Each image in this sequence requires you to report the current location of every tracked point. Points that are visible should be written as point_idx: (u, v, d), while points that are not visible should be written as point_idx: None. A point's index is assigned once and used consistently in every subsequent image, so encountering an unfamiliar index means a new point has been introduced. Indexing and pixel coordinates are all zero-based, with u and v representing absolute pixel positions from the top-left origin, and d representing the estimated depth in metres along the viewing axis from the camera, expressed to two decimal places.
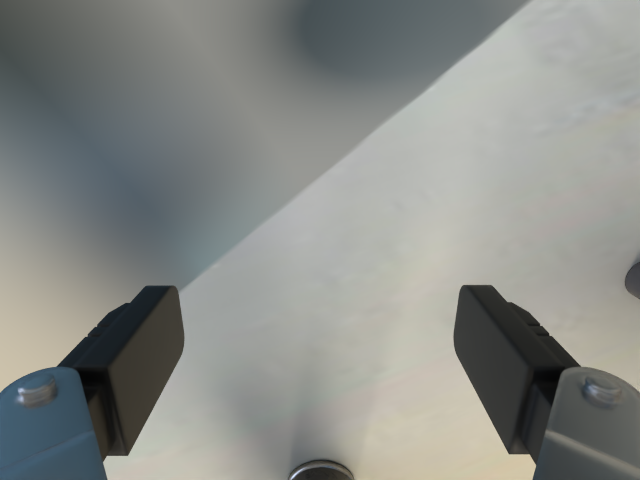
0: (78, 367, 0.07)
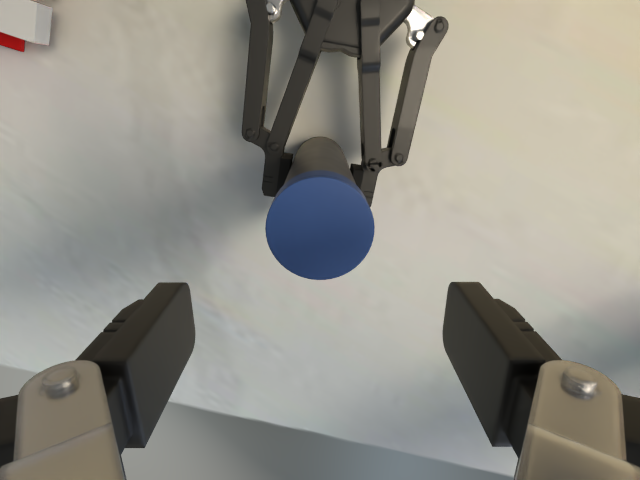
0: (97, 361, 0.07)
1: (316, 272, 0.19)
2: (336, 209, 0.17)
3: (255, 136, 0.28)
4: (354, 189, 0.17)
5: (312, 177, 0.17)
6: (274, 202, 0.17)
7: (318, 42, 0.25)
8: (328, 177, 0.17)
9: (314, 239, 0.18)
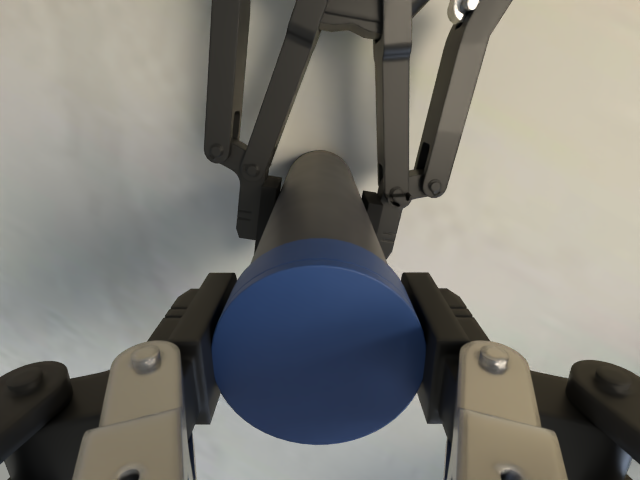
0: (173, 341, 0.08)
1: (312, 433, 0.10)
2: (351, 326, 0.09)
3: (224, 155, 0.19)
4: (389, 288, 0.08)
5: (303, 265, 0.08)
6: (226, 312, 0.09)
7: (317, 13, 0.16)
8: (336, 265, 0.08)
9: (308, 378, 0.09)
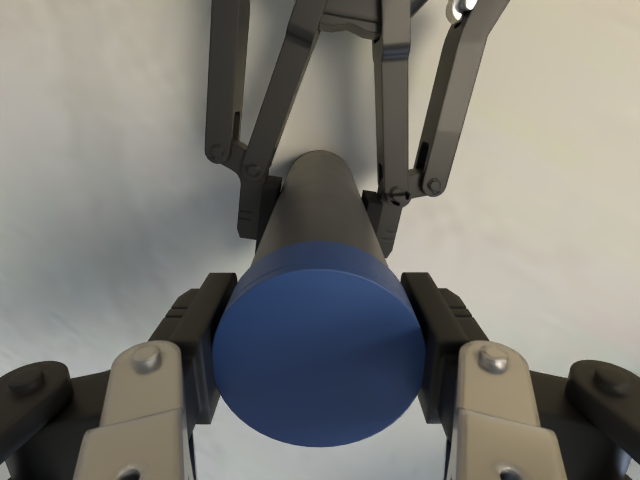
0: (173, 341, 0.08)
1: (409, 368, 0.09)
2: (272, 342, 0.09)
3: (224, 155, 0.19)
4: (226, 312, 0.09)
5: (216, 381, 0.09)
6: (270, 435, 0.10)
7: (316, 14, 0.16)
8: (212, 356, 0.09)
9: (337, 374, 0.09)
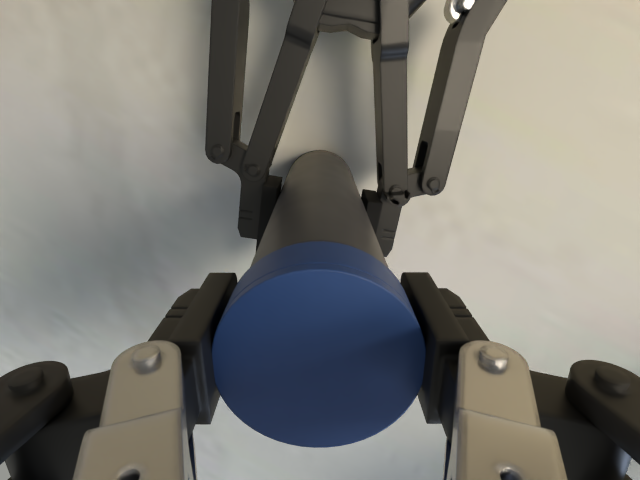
0: (173, 341, 0.08)
1: (314, 286, 0.08)
2: (294, 404, 0.09)
3: (225, 155, 0.19)
4: (267, 434, 0.10)
5: (343, 442, 0.10)
6: (409, 403, 0.09)
7: (315, 14, 0.16)
8: None
9: (327, 351, 0.09)
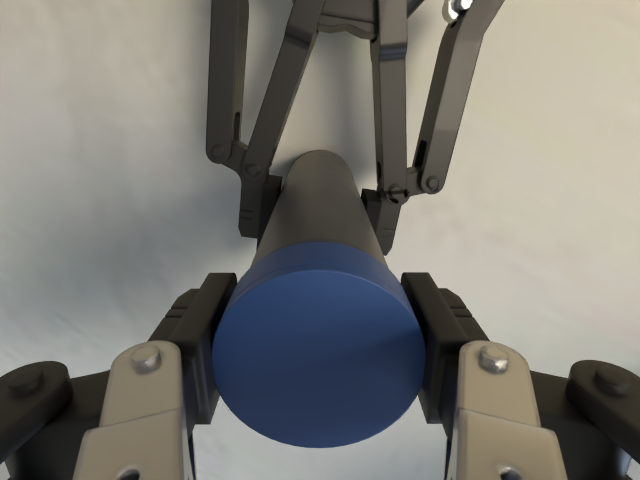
0: (173, 341, 0.08)
1: (229, 376, 0.09)
2: (366, 386, 0.09)
3: (225, 156, 0.19)
4: (408, 405, 0.09)
5: (422, 337, 0.09)
6: (363, 280, 0.08)
7: (314, 15, 0.17)
8: None
9: (299, 361, 0.09)
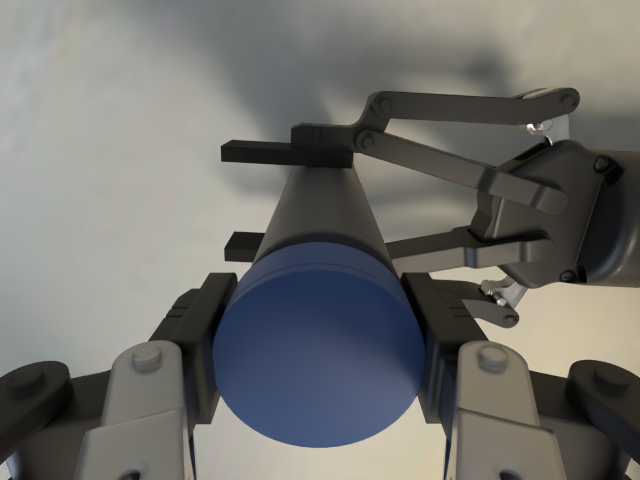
0: (174, 341, 0.08)
1: (332, 435, 0.10)
2: (339, 325, 0.09)
3: (380, 113, 0.19)
4: (366, 279, 0.08)
5: (275, 276, 0.08)
6: (216, 337, 0.09)
7: (504, 193, 0.20)
8: (307, 269, 0.08)
9: (312, 383, 0.09)
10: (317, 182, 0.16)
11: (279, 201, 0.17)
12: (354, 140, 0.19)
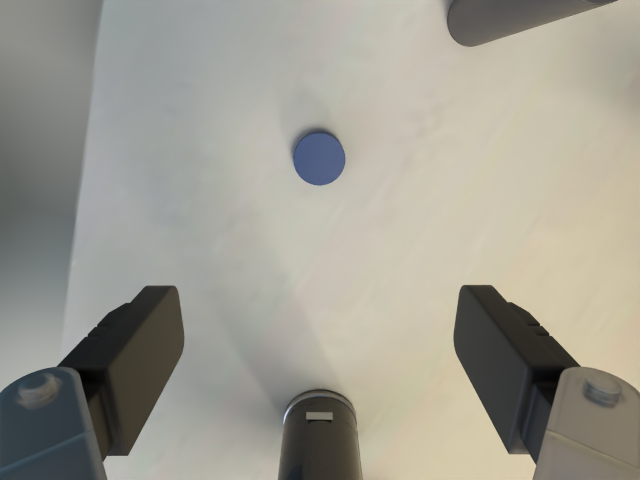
0: (78, 367, 0.07)
1: (322, 181, 0.38)
2: (324, 147, 0.37)
3: None
4: (330, 135, 0.37)
5: (309, 135, 0.37)
6: (295, 151, 0.37)
7: None
8: (316, 133, 0.37)
9: (317, 164, 0.38)
10: None
11: None
12: None
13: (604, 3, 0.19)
